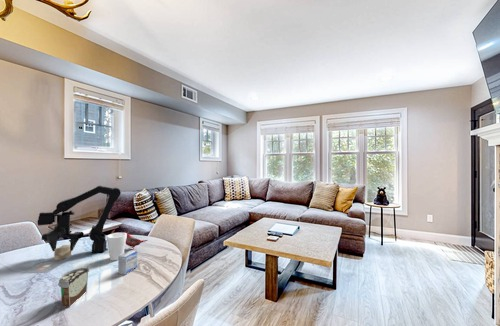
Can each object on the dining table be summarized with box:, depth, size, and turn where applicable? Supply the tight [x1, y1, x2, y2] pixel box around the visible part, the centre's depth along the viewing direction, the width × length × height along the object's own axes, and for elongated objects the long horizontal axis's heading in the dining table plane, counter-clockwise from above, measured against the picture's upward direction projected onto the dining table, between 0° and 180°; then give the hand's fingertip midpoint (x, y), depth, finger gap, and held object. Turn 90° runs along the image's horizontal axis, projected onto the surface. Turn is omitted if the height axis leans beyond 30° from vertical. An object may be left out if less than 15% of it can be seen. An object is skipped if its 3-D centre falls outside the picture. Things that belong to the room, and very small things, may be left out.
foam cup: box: [106, 232, 127, 262], centre depth 123 cm, size 10×9×13 cm
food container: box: [57, 266, 90, 308], centre depth 85 cm, size 12×6×10 cm, turn 5°
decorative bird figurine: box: [125, 232, 148, 249], centre depth 136 cm, size 3×18×10 cm, turn 82°
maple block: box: [53, 244, 72, 261], centre depth 122 cm, size 4×6×6 cm
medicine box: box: [117, 249, 138, 275], centre depth 109 cm, size 8×4×9 cm, turn 168°
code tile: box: [21, 261, 66, 274], centre depth 110 cm, size 12×12×1 cm
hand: (62, 251), depth 122 cm, fingers open, 9 cm apart
